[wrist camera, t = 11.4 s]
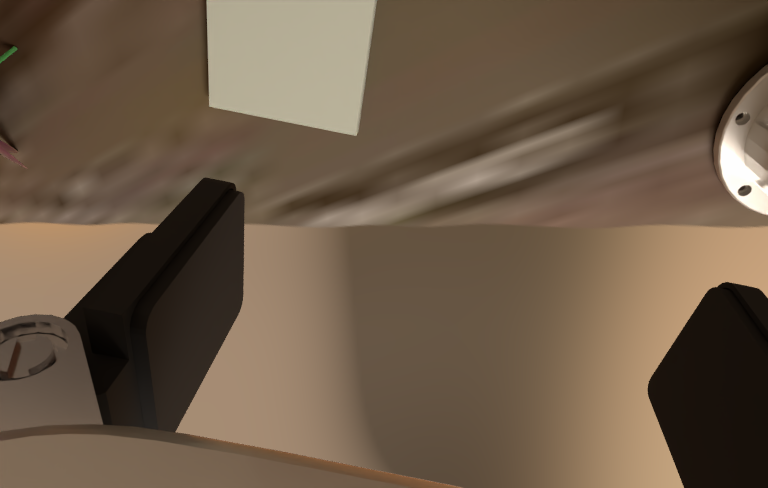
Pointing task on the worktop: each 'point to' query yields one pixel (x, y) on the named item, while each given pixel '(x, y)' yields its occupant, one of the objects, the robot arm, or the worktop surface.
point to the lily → (3, 147)
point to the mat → (291, 59)
